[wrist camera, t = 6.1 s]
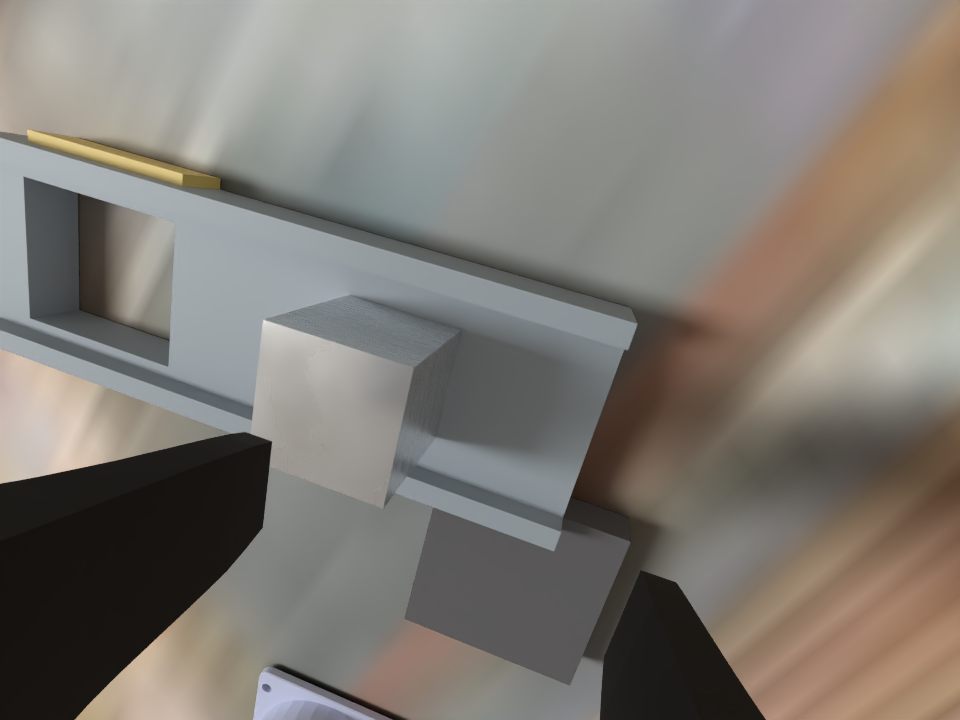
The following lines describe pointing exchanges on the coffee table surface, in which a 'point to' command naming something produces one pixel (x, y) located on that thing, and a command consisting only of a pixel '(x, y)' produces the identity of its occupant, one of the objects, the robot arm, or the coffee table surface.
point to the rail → (298, 284)
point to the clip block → (352, 393)
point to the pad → (520, 586)
